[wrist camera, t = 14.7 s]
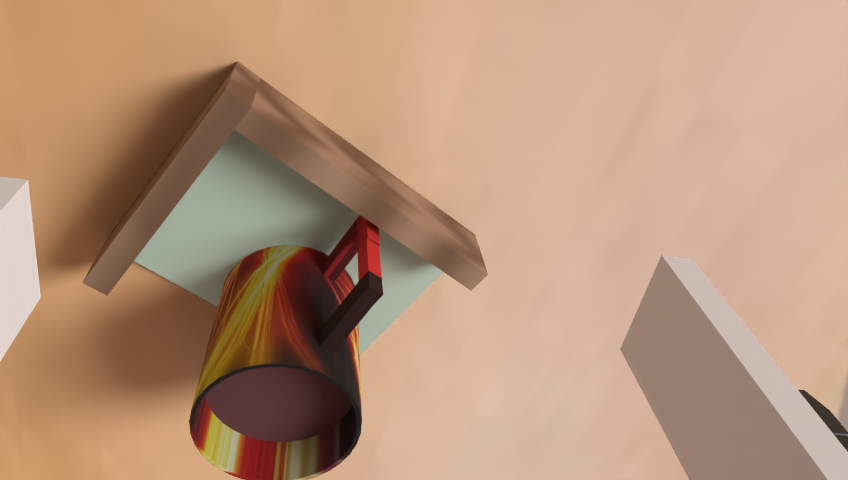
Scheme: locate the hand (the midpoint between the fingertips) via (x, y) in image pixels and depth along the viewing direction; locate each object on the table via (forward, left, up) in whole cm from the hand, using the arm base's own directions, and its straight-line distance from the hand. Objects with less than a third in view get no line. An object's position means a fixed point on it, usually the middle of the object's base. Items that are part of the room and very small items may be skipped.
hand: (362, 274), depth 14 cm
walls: (+7, -15, -29) cm, 33 cm away
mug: (+9, -18, -28) cm, 35 cm away
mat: (+8, -16, -29) cm, 34 cm away
